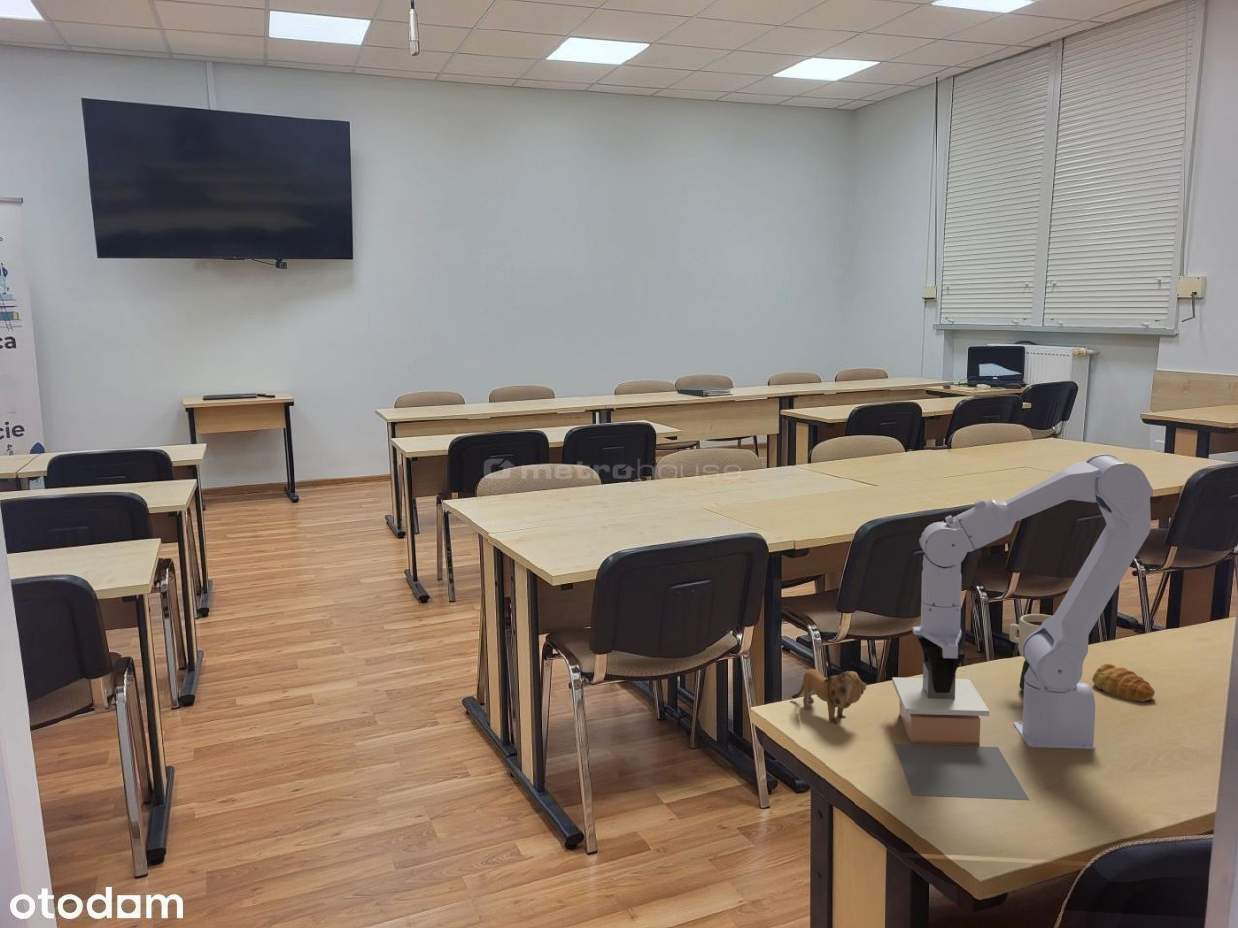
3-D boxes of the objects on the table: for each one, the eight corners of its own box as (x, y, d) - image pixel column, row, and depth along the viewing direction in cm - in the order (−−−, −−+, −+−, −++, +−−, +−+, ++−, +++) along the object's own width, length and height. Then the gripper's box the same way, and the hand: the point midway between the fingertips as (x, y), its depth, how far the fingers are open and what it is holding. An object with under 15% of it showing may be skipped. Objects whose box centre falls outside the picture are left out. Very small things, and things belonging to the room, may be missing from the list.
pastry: (1164, 699, 149) (1165, 677, 148) (1136, 707, 146) (1137, 685, 146) (1114, 680, 157) (1115, 659, 157) (1086, 687, 155) (1087, 666, 154)
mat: (997, 749, 133) (997, 747, 133) (1029, 802, 118) (1029, 799, 118) (894, 746, 135) (894, 743, 135) (912, 797, 120) (912, 795, 120)
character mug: (1081, 696, 151) (1085, 622, 149) (1063, 709, 146) (1067, 633, 144) (1017, 678, 159) (1019, 608, 157) (998, 690, 154) (1001, 618, 152)
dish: (963, 718, 144) (964, 692, 143) (979, 747, 134) (980, 719, 133) (899, 716, 145) (899, 690, 144) (910, 745, 135) (911, 717, 135)
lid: (969, 684, 144) (970, 653, 143) (989, 716, 132) (990, 682, 131) (892, 682, 145) (892, 651, 144) (905, 713, 134) (906, 680, 133)
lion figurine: (871, 725, 142) (872, 671, 141) (849, 734, 139) (850, 680, 138) (801, 696, 154) (801, 646, 153) (780, 704, 151) (780, 654, 150)
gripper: (905, 587, 144) (904, 667, 146) (923, 616, 130) (921, 704, 132) (950, 588, 143) (948, 668, 145) (973, 617, 129) (971, 706, 131)
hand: (938, 686), depth 138 cm, fingers closed on lid, 4 cm apart
